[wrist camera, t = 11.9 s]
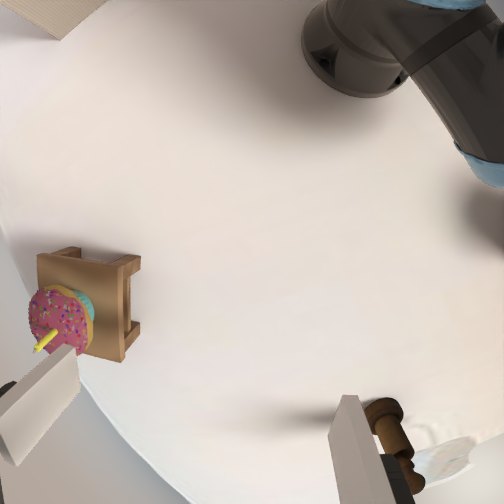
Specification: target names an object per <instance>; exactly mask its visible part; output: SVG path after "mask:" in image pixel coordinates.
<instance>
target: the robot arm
mask: <svg viewBox="0 0 504 504" xmlns="http://www.w3.org/2000/svg"><path fill="white" fill-rule="evenodd" d="M485 1H486V0H324V1H323V2H322V3H321V4H319V5H318V6H317V7H315V8H314V9H313V10H312V11H311V13H310V14H309V15H308V17H307V19H306V21H305V24H304V28H303V32H302V37H301V42H302V49H303V53H304V56H305V58H306V60H307V62H308V64H309V66H310V67H311V69H312V70H313V71H314V72H315V73H316V75H317V76H318V77H319V78H320V79H322V80H323V81H324V82H325V83H326V84H328V85H329V86H331V87H332V88H334V89H336V90H338V91H340V92H342V93H345V94H347V95H351V96H355V97H360V98H376V97H381V96H384V95H387V94H389V93H391V92H393V91H394V90H395V89H397V88H398V87H399V86H401V85H402V84H403V83H404V82H405V81H406V80H407V78H408V77H409V76H410V77H411V79H412V80H413V81H414V82H415V84H416V85H417V86H418V88H419V89H420V90H421V92H422V93H423V94H424V96H425V97H426V99H427V100H428V101H429V103H430V104H431V106H432V107H433V109H434V110H435V111H436V113H437V114H438V116H439V117H440V119H441V120H442V122H443V123H444V125H445V127H446V128H447V130H448V131H449V133H450V134H451V136H452V138H453V139H454V144H455V146H456V148H457V150H458V151H459V152H460V153H461V154H462V155H463V156H464V157H465V159H466V160H467V162H468V164H469V165H470V167H471V169H472V170H473V172H474V173H475V175H476V176H477V177H478V178H480V179H481V180H482V181H483V182H485V183H486V184H488V185H490V186H493V187H497V188H501V189H504V23H502V22H501V21H500V20H499V18H498V17H497V16H496V15H495V13H494V12H493V11H492V9H491V8H490V7H489V6H488V4H487V3H486V2H485ZM80 391H81V385H80V379H79V372H78V365H77V358H76V350H75V347H73V346H70V345H67V344H64V343H63V344H62V345H61V346H60V347H58V348H57V349H56V350H55V351H54V352H52V353H51V354H50V355H49V356H48V357H46V358H45V359H44V360H43V361H42V362H41V363H39V364H38V365H37V366H36V367H35V368H34V369H33V370H31V371H30V372H29V373H28V374H27V375H26V376H25V377H23V378H22V379H21V380H20V381H19V382H18V383H17V382H15V381H12V382H10V383H7V384H5V385H4V386H2V387H1V388H0V452H1V454H2V456H3V458H4V460H5V461H7V462H9V463H10V464H12V465H13V466H15V467H18V466H19V464H20V463H21V462H22V461H23V459H24V458H25V457H26V456H27V454H28V453H29V452H30V451H31V450H32V448H33V447H34V446H35V445H36V443H37V442H38V441H39V440H40V438H41V437H42V436H43V435H44V434H45V432H46V431H47V430H48V429H49V428H50V426H51V425H52V424H53V423H54V421H55V420H56V419H57V418H58V417H59V416H60V414H61V413H62V412H63V411H64V409H65V408H66V407H67V406H68V405H69V404H70V402H71V401H72V400H73V399H74V398H75V396H77V394H78V393H79V392H80ZM328 440H329V445H330V450H331V456H332V461H333V466H334V471H335V477H336V482H337V487H338V493H339V499H340V504H415V501H414V499H413V496H412V493H411V491H410V488H409V486H408V483H407V480H406V479H405V475H404V473H403V472H402V468H401V465H400V463H399V461H398V460H397V459H396V458H395V457H394V456H393V455H392V454H379V452H378V449H377V446H376V444H375V441H374V438H373V435H372V432H371V430H370V427H369V424H368V422H367V419H366V416H365V413H364V411H363V408H362V405H361V403H360V400H359V398H358V395H342V398H341V401H340V404H339V406H338V409H337V412H336V415H335V418H334V420H333V423H332V426H331V428H330V431H329V433H328ZM0 504H4V499H3V493H2V486H1V479H0Z"/></svg>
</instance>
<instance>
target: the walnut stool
mask: <svg viewBox="0 0 504 504" xmlns="http://www.w3.org/2000/svg"><path fill="white" fill-rule="evenodd" d="M140 260H141V256H136V255H127V256H125V257H123V258H121V259H119V260H117V261H115V262H113V263H105V262H98V261H92V260H85V259H81V248H77V247H68V248H65V249H62V250H59V251H56V252H54V253H51V254H48V253H41V254H38V255H37V273H38V287H39V290H40V289H42V288H43V287H47V286H50V285H61V286H63V287H65V288H67V289H70V290H77V291H80V292H82V293H84V294H85V295H86V296H87V297H88V298H89V299H90V301H91V303H92V305H93V308H94V320H93V338H92V341H91V343H90V345H89V347H88V348H87V349H86V350H85V351H84V352H83V353H84V354H88V355H91V356H95V357H99V358H103V359H107V360H111V361H115V362H119V363H121V362H122V361H123V360H124V358H125V352H126V350H127V349H128V348H129V347H130V346H131V344H132V343H133V342H134V341H135V340H136V338H137V337H138V336H139V335H140V323H139V322H134V321H131V315H130V276H131V275H132V274H134V273H135V272H137V271H138V270H140Z"/></svg>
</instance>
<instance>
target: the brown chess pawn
mask: <svg viewBox="0 0 504 504" xmlns="http://www.w3.org/2000/svg"><path fill="white" fill-rule="evenodd" d="M364 413H365V416H366V419H367V422H368V424H369V427H370V430H371V432H372V434H373V435H378V437H379V440H380V442H381V444H382V447H383V449H384V452H385V454H392V455H393V456H394V457H395V458H396V459H397V460H398V461H399V463H400V465H401V468H402V472H403V473H404V475H405V479H406V480H407V483H408V486H409V488H410V491H411V493H412V495H415V494H417V493H419V492H421V491H422V490H423V488H424V486H425V478H424V477H423V476H422V475H421V474H419V473H416V472H414V470H413V468H414V466H415V465H414V463H413V462H412V461H411V459H412V457H413V456H414V453H415V452H414V449H413V447H412V445H411V444H410V442H409V440H408V438H407V436H406V434H405V432H404V430H403V428H402V426H401V424H400V423H401V421H402V419H403V410H402V408H401V406H400V404H399V403H398V402H397V401H396V400H395V399H393V398H384V399H380V400H377V401H375V402H373V403H372V404H370V405H369V406H368V407H367V408H366V409H365V411H364Z"/></svg>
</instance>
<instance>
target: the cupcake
mask: <svg viewBox="0 0 504 504" xmlns="http://www.w3.org/2000/svg"><path fill="white" fill-rule="evenodd" d="M28 310H29V324H30V328H31V332H33V333H32V334H34V337H35V338H36V339H37V342H38V343H37V344H36V345H35V346H34V351H33V353H35V352H39V351H40V350H41V349H42V348H43V349H45V350H46V351H47V352H48V353H49V354H51V353H52V352H54V351H55V350H56V349H57V348H58V347H60V346H61V345H62V344H63V343H64V344H67V345H70V346H73V347H75V350H76V356H78V355H80V354H82V353H83V352H84V351H85V350H86V349H87V348H88V347H89V345H90V343H91V341H92V338H93V320H94V308H93V305H92V303H91V301H90V299H89V298H88V297H87V296H86V295H85V294H84V293H82V292H80V291H77V290H70V289H67V288H65V287H63V286H61V285H50V286H47V287H43V288H42V289H40V290H39V291H38V290H37V293H36V294H35V295H34V296H33V297H32V299H31V301H30V304H29V309H28Z"/></svg>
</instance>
